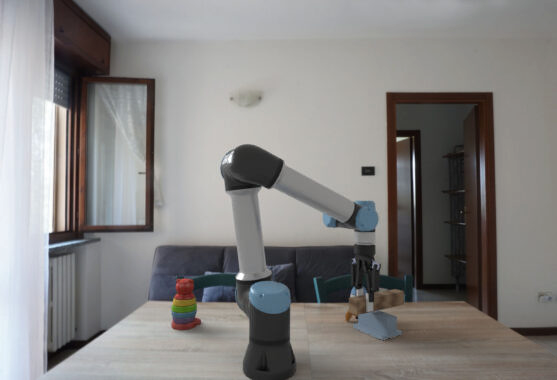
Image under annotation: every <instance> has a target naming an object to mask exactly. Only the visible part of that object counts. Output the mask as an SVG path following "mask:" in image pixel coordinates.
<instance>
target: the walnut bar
mask: <svg viewBox="0 0 557 380" xmlns="http://www.w3.org/2000/svg"><path fill="white" fill-rule="evenodd" d="M404 305H405V291H404V290H400V289H396V288H395V289H394V288H393V289H389V290H384V291H379V292H375V293H374V302H373V311H378V310H380V311H383V310H386V309H390V308H394V307H400V306H404ZM348 310H349V312H350V313H352V314H355V315H360V314H364V313H369V312H373V311H369V312H366V295H361V296H356V297H348Z"/></svg>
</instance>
